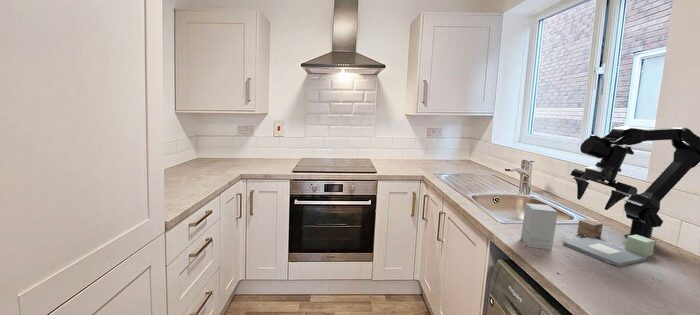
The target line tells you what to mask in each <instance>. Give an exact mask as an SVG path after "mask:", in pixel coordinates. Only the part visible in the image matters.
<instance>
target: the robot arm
mask: <svg viewBox="0 0 700 315" xmlns="http://www.w3.org/2000/svg"><path fill="white" fill-rule="evenodd" d="M648 141H651V142H652V141H653V142H654V141H671V146H672V147H673V148H674V149H675V150H674V152H673V161H672V162H670V164H669V165H667V167H666V168H665V169H664V170H663V171H662V172H661V173H660V175H658V177H657V178H656V179H655V180H654V181H653V182H652V183H651V184H650V185H649V186H648V187H647V188H646V189H645V191H643V192H641V193H638V188H637V187H636V186H633V185H630V184H627V183H623V182H620V181H617V180H616V177H617V176H618V174H619V173H621V171H622V169H621V166H622V164H623V162H624V160H625V159H626V156H627V154H628V155H634V154H635V152H634V150H632V147H631V146H634V145H638V144H639V145H640V144H641V143H643V142H648ZM682 141H684V142H682ZM624 145H625V146H624ZM580 152H581V153H582V154H584V155H587V156H590V157H592V158H593V157H594V158H595V159H600V161H597V162H596V164H595V165H594V166H593V165H591V166H586V167H585V170H584V171H583V170H580V169H578V168H574V169H573V170H571V173H570V174H569V175H570V176H572V179H573V180H575V182H576V185H577V187H576V188H577V190H576V191H577V196H576V199H577V200H579V201H580V200H581V199H582V198H583V196H584V194H585V193H586V190H587V189H588V186H589V185H590V182H589V181H591V182H595V183H597V184H601V185H603V186H606V187H611V188H613V189H611V195H610V197H609V199H608V200H607V202H606V203H605V207H604V211H608V210H609V209H611V208H612V207H613V206H615V205H616V204H617V203H618V202H620V201H622V200H623V199H625V198H627V197H628V199H626V200H625V203H624V204H623V209H624V212H625V217H626V219H629V220H631V225H630V228H629V229H630V231H629V233H627V234H623V235H624V237H625V238H627V236H631V235H639V236H643V237H646V238H649V239H652V240H655V242H656V241H657V239H655V238H652V236H653V230H654V228H658V227H659V228H660V227H661V226H662V225H663V223H664V220H663V219H662V218H661V217H660V215H659V214H658V213H659V211H660V209H661V201H662V200H663V199H664V197H666V195H667V194H668V193H669V192H671V191H672V189H673V188H674V187H675V186H676V185H677V184H678V183H679V182H680V181H681V180H682V179H683V177H684V176H685V175H687V173H688V172H689V171H690V170H692V169H693V168H696V167H697V166H696V165H697V164H698V163H699V162H700V136H698V135H697V134H696V133H694V132H693V131H692V130H691V129H690V128H688V127H679V126H678V127H676V126H674V127H669V128H667V127H666V128H644V129H643V128H635V127H623V126H622V127H621V126H615V127H613V128H612V129H611V130H610V132H608V133H607V134H604V136H602V137H600V136H598V135H595V134H590V135H589V137H588V138H586V139H585V140H584V141H583V142H582V143H581V145H580ZM695 166H696V167H695ZM614 189H615V190H614Z"/></svg>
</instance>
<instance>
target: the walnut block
mask: <svg viewBox="0 0 700 315" xmlns="http://www.w3.org/2000/svg"><path fill="white" fill-rule="evenodd" d="M603 226H604V224H603V223H602V222H599V221H595V220H592V219H589V218H588V219H587V218H586V219H581V220H578V226H577V232H576V233H577V234H578V233H579V234H578V235H580V234H582V235H581V236H583V235H585V236H584V237H586V236H588V237H593V238H596V237H598V238H601V236H602V231H603ZM596 239H597V238H596Z"/></svg>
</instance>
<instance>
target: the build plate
mask: <svg viewBox="0 0 700 315" xmlns="http://www.w3.org/2000/svg"><path fill="white" fill-rule="evenodd" d="M562 245H564V246H566V245H567V246H566V247H568V246H569V248H571V249H573V248H574V249H573V250H576V249H577V250H576V251H578V250H579V252H581V253H583V252H584V253H583V254H585V253H587V254H586V255H588V254H589V255H588V256H590V255H592V256H591V257H593V256H594V257H593V258H595V257H597V258H599V259H598V260H600V259H602V260H604V261H603V262H605V261H607V262H609V263H608V264H610V263H611V264H610V265H612V264H613V265H612V266H614V265H616V266H615V267H617V266H618V267H617V268H619V266H620V267H624V266H627V265H632V264H636V263H640V262H644V261H647V258H648V257H645V256H642V255H640V254H637V253H634V252H631V251H629V250H626V249H625V248H622V247H620V246H617V245H614V244H612V243H609V242H606V241H604V240H600V239H599V238H593V237H582V238H576V239H571V240H563V243H562ZM597 258H596V259H597ZM602 260H601V261H602ZM607 262H606V263H607ZM623 265H624V266H623Z"/></svg>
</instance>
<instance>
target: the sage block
mask: <svg viewBox="0 0 700 315" xmlns="http://www.w3.org/2000/svg"><path fill="white" fill-rule="evenodd" d="M652 239H653V238H652ZM652 239H649V238H646V237H643V236H639V235H631V236H627V237H626V241H625V246H624V249H626V250H629V251H631V252H634V253H637V254H640V255H642V256H645V257H647V258H648V257H651V256H653V254H654V248H655V244H656V241H655V240H656V239H655V240H652Z"/></svg>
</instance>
